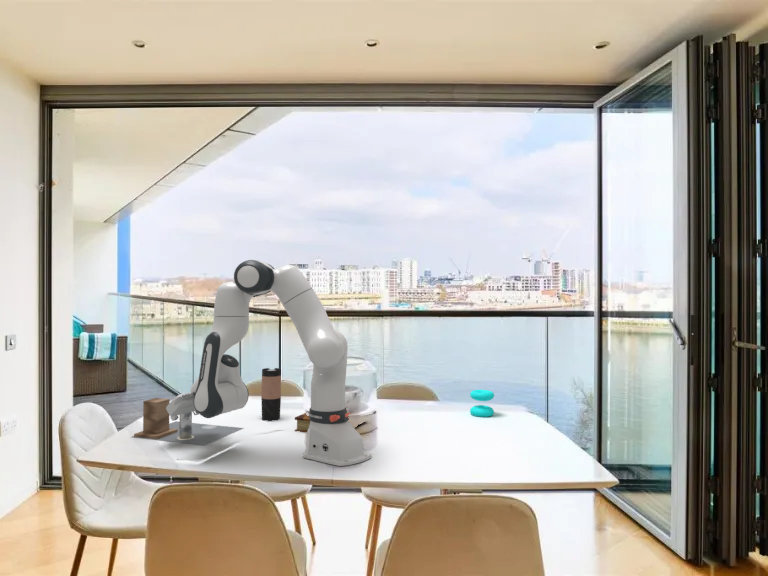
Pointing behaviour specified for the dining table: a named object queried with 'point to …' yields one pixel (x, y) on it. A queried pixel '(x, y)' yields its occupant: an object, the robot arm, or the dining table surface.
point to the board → (199, 434)
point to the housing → (155, 419)
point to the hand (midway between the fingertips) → (184, 416)
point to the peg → (185, 426)
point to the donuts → (482, 409)
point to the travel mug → (271, 394)
